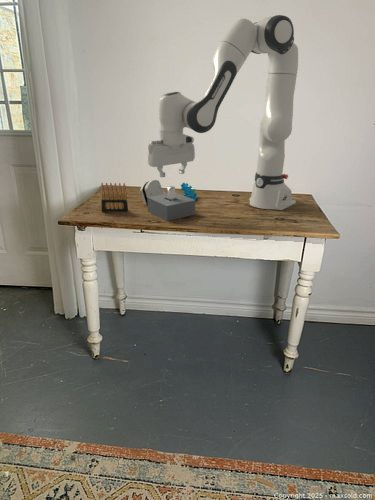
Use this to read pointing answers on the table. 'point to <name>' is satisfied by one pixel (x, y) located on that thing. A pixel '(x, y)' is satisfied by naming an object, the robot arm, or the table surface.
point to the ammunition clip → (114, 199)
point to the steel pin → (171, 193)
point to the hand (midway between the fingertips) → (172, 175)
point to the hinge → (151, 190)
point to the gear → (188, 191)
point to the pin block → (171, 206)
